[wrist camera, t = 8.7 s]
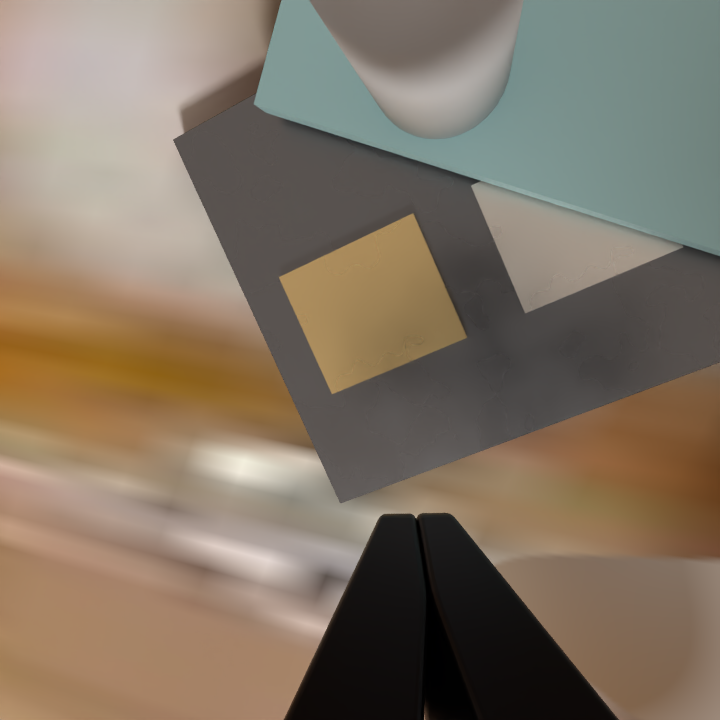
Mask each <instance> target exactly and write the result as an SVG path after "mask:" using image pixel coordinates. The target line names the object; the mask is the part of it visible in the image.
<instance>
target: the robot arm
mask: <svg viewBox="0 0 720 720" xmlns="http://www.w3.org/2000/svg"><path fill="white" fill-rule="evenodd" d="M424 714H425V720H619V719H618V718H617V717H616V716H615V715H614V713H613V712H612V711H611V710H610V708H609V707H608V706H607V705H606V703H605V702H604V701H603V700H602V699H601V697H600V696H599V695H598V694H597V692H596V691H595V690H594V689H593V687H592V686H591V685H590V684H589V682H588V681H587V680H586V679H585V678H584V676H583V675H582V674H581V673H580V671H579V670H578V669H577V668H576V666H575V665H574V664H573V663H572V662H571V660H570V659H569V658H568V657H567V656H566V654H565V653H564V652H563V650H562V649H561V648H560V647H559V646H558V644H557V643H556V642H555V641H554V639H553V638H552V637H551V636H550V635H549V633H548V632H547V631H546V630H545V628H544V627H543V626H542V625H541V623H540V622H539V621H538V620H537V619H536V617H535V616H534V615H533V613H532V612H531V611H530V610H529V609H528V608H527V606H526V605H525V604H524V602H523V601H522V600H521V599H520V598H519V596H518V595H517V594H516V593H515V591H514V590H513V589H512V588H511V586H510V585H509V584H508V583H507V581H506V580H505V579H504V578H503V577H502V575H501V574H500V573H499V572H498V571H497V569H496V568H495V567H494V565H493V564H492V563H491V562H490V560H489V559H488V558H487V557H486V556H485V554H484V553H483V552H482V551H481V549H480V548H479V547H478V546H477V544H476V543H475V542H474V541H473V540H472V538H471V537H470V536H469V535H468V533H467V532H466V531H465V530H464V528H463V527H462V526H461V525H460V523H459V522H458V521H457V520H456V519H455V517H454V516H452V515H451V514H449V513H422V514H420V515H418V517H417V518H415V517H414V515H412V514H384V515H382V516H381V517H380V518H379V519H378V521H377V523H376V525H375V528H374V530H373V532H372V534H371V536H370V538H369V540H368V542H367V544H366V547H365V549H364V551H363V553H362V555H361V557H360V559H359V561H358V564H357V566H356V568H355V570H354V572H353V574H352V576H351V578H350V581H349V583H348V585H347V587H346V589H345V591H344V593H343V595H342V597H341V600H340V602H339V604H338V606H337V608H336V610H335V612H334V614H333V617H332V619H331V621H330V623H329V625H328V627H327V629H326V631H325V634H324V636H323V638H322V640H321V642H320V644H319V646H318V648H317V651H316V653H315V655H314V657H313V659H312V661H311V663H310V665H309V667H308V670H307V672H306V674H305V676H304V678H303V680H302V682H301V684H300V687H299V689H298V691H297V693H296V695H295V697H294V699H293V701H292V704H291V706H290V708H289V710H288V712H287V714H286V716H285V718H284V720H424Z"/></svg>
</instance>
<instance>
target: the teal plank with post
mask: <svg viewBox="0 0 720 720" xmlns="http://www.w3.org/2000/svg"><path fill="white" fill-rule="evenodd" d="M254 105H255V106H257V107H258V108H260V109H261V110H263V111H264V112H266V113H268V114H271V115H275V116H278V117H281V118H284V119H287V120H290V121H294V122H297V123H300V124H303V125H306V126H309V127H313V128H316V129H319V130H322V131H325V132H328V133H332V134H335V135H338V136H341V137H344V138H347V139H351V140H354V141H357V142H360V143H363V144H366V145H370V146H373V147H376V148H379V149H382V150H385V151H389V152H392V153H395V154H398V155H401V156H404V157H408V158H411V159H414V160H417V161H420V162H423V163H427V164H430V165H433V166H436V167H439V168H442V169H446V170H449V171H452V172H455V173H458V174H461V175H465V176H468V177H471V178H474V179H477V180H480V181H484V182H487V183H490V184H493V185H496V186H499V187H503V188H506V189H509V190H512V191H515V192H518V193H522V194H525V195H528V196H531V197H534V198H537V199H540V200H544V201H547V202H550V203H553V204H556V205H559V206H563V207H566V208H569V209H572V210H575V211H578V212H582V213H585V214H588V215H591V216H594V217H597V218H601V219H604V220H607V221H610V222H613V223H616V224H620V225H623V226H626V227H629V228H632V229H635V230H639V231H642V232H645V233H648V234H651V235H654V236H658V237H661V238H664V239H667V240H670V241H673V242H677V243H680V244H683V245H686V246H689V247H692V248H696V249H699V250H702V251H705V252H708V253H711V254H715V255H718V256H720V0H281V4H280V7H279V11H278V15H277V19H276V22H275V26H274V30H273V34H272V37H271V41H270V45H269V48H268V52H267V56H266V60H265V63H264V67H263V71H262V75H261V78H260V82H259V86H258V90H257V93H256V97H255V101H254Z"/></svg>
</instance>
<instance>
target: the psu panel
mask: <svg viewBox="0 0 720 720" xmlns="http://www.w3.org/2000/svg"><path fill="white" fill-rule="evenodd" d="M255 97H256V94H254V95H252V96H250V97H249V98H247V99H245V100H243V101H241V102H240V103H238V104H236V105H234V106H233V107H231V108H229V109H227V110H225V111H224V112H222V113H220V114H218V115H216V116H215V117H213V118H211V119H209V120H207V121H206V122H204V123H202V124H200V125H199V126H197V127H195V128H193V129H191V130H190V131H188V132H186V133H184V134H182V135H181V136H179V137H177V138H175V139H174V140H173V141H174V143H175V145H176V147H177V149H178V152H179V154H180V156H181V158H182V160H183V162H184V165H185V167H186V169H187V171H188V173H189V175H190V178H191V180H192V182H193V184H194V186H195V188H196V191H197V193H198V195H199V197H200V199H201V202H202V204H203V206H204V208H205V210H206V212H207V215H208V217H209V219H210V221H211V223H212V225H213V228H214V230H215V232H216V234H217V236H218V238H219V241H220V243H221V245H222V247H223V249H224V251H225V254H226V256H227V258H228V260H229V262H230V265H231V267H232V269H233V271H234V273H235V275H236V278H237V280H238V282H239V284H240V286H241V288H242V291H243V293H244V295H245V297H246V299H247V301H248V304H249V306H250V308H251V310H252V312H253V314H254V317H255V319H256V321H257V323H258V325H259V328H260V330H261V332H262V334H263V336H264V338H265V341H266V343H267V345H268V347H269V349H270V351H271V354H272V356H273V358H274V360H275V362H276V364H277V367H278V369H279V371H280V373H281V375H282V377H283V380H284V382H285V384H286V386H287V388H288V391H289V393H290V395H291V397H292V399H293V401H294V404H295V406H296V408H297V410H298V412H299V414H300V417H301V419H302V421H303V423H304V425H305V427H306V430H307V432H308V434H309V436H310V438H311V440H312V443H313V445H314V447H315V449H316V451H317V454H318V456H319V458H320V460H321V462H322V464H323V467H324V469H325V471H326V473H327V475H328V477H329V480H330V482H331V484H332V486H333V488H334V490H335V493H336V495H337V497H338V499H339V501H340V503H343V502H345V501H348V500H351V499H354V498H356V497H359V496H362V495H364V494H367V493H370V492H372V491H375V490H378V489H380V488H383V487H386V486H388V485H391V484H394V483H396V482H399V481H402V480H405V479H407V478H410V477H413V476H415V475H418V474H421V473H423V472H426V471H429V470H431V469H434V468H437V467H439V466H442V465H445V464H448V463H450V462H453V461H456V460H458V459H461V458H464V457H466V456H469V455H472V454H474V453H477V452H480V451H482V450H485V449H488V448H490V447H493V446H496V445H499V444H501V443H504V442H507V441H509V440H512V439H515V438H517V437H520V436H523V435H525V434H528V433H531V432H533V431H536V430H539V429H542V428H544V427H547V426H550V425H552V424H555V423H558V422H560V421H563V420H566V419H568V418H571V417H574V416H576V415H579V414H582V413H584V412H587V411H590V410H593V409H595V408H598V407H601V406H603V405H606V404H609V403H611V402H614V401H617V400H619V399H622V398H625V397H627V396H630V395H633V394H636V393H638V392H641V391H644V390H646V389H649V388H652V387H654V386H657V385H660V384H662V383H665V382H668V381H670V380H673V379H676V378H679V377H681V376H684V375H687V374H689V373H692V372H695V371H697V370H700V369H703V368H705V367H708V366H711V365H713V364H716V363H719V362H720V256H718V255H715V254H711V253H708V252H705V251H702V250H699V249H696V248H692V247H689V246H686V245H683V244H680V243H677V242H673V241H670V240H667V239H664V238H661V237H658V236H654V235H651V234H648V233H645V232H642V231H639V230H635V229H632V228H629V227H626V226H623V225H620V224H616V223H613V222H610V221H607V220H604V219H601V218H597V217H594V216H591V215H588V214H585V213H582V212H578V211H575V210H572V209H569V208H566V207H563V206H559V205H556V204H553V203H550V202H547V201H544V200H540V199H537V198H534V197H531V196H528V195H525V194H522V193H518V192H515V191H512V190H509V189H506V188H503V187H499V186H496V185H493V184H490V183H487V182H484V181H480V180H477V179H474V178H471V177H468V176H465V175H461V174H458V173H455V172H452V171H449V170H446V169H442V168H439V167H436V166H433V165H430V164H427V163H423V162H420V161H417V160H414V159H411V158H408V157H404V156H401V155H398V154H395V153H392V152H389V151H385V150H382V149H379V148H376V147H373V146H370V145H366V144H363V143H360V142H357V141H354V140H351V139H347V138H344V137H341V136H338V135H335V134H332V133H328V132H325V131H322V130H319V129H316V128H313V127H309V126H306V125H303V124H300V123H297V122H294V121H290V120H287V119H284V118H281V117H278V116H275V115H271V114H268V113H266V112H264V111H263V110H261V109H260V108H258V107H257V106H255V105H254V101H255Z"/></svg>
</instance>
